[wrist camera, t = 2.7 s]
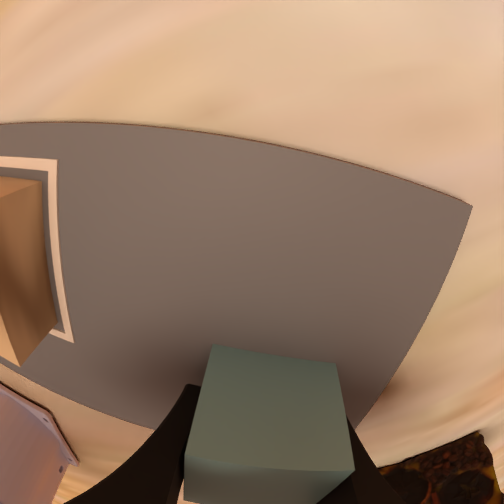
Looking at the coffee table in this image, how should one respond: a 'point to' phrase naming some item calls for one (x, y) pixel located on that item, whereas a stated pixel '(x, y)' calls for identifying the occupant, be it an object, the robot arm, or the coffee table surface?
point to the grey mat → (222, 261)
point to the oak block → (23, 270)
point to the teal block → (266, 431)
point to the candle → (448, 475)
